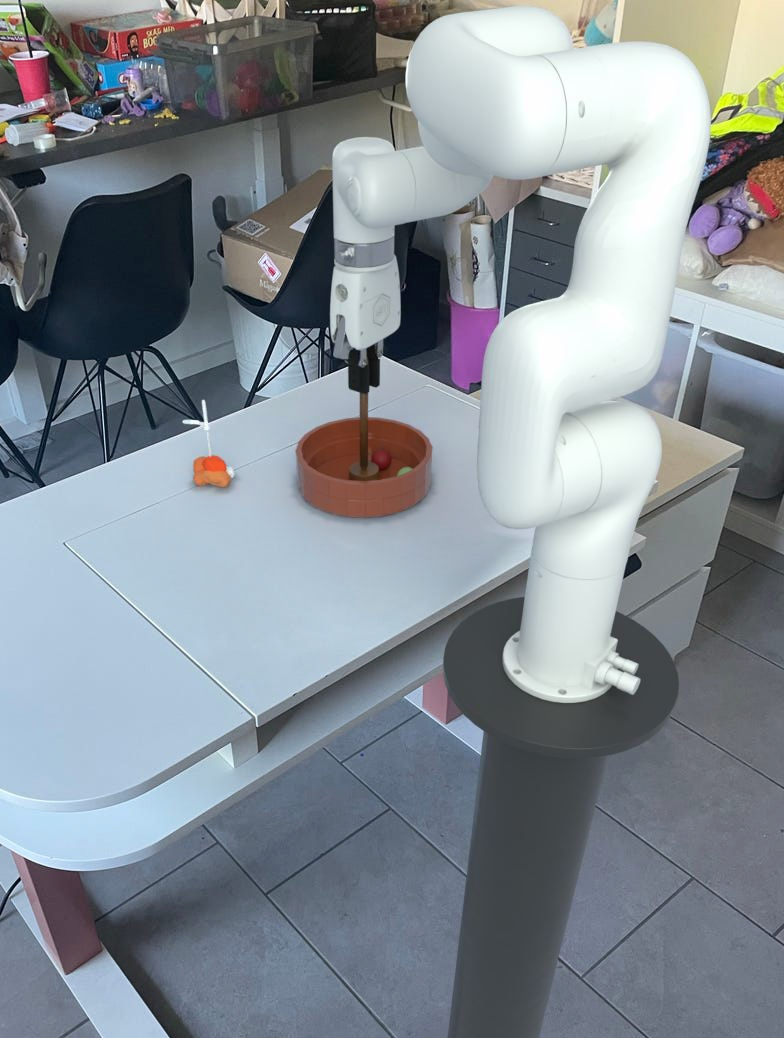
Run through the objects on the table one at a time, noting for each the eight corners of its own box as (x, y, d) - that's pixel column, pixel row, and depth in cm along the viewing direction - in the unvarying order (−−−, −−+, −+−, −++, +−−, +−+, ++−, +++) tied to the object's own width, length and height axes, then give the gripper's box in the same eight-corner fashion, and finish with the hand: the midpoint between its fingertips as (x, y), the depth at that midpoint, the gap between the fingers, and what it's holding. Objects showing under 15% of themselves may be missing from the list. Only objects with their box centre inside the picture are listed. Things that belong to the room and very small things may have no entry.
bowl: (455, 476, 140) (458, 440, 136) (379, 536, 129) (379, 498, 125) (350, 440, 150) (350, 405, 146) (270, 493, 139) (268, 456, 135)
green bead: (406, 487, 139) (423, 481, 137) (397, 492, 136) (414, 487, 135) (399, 468, 138) (416, 462, 136) (390, 473, 136) (407, 467, 134)
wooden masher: (384, 479, 139) (386, 354, 127) (367, 492, 137) (367, 365, 124) (360, 471, 141) (360, 346, 129) (343, 483, 139) (341, 357, 126)
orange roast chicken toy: (209, 460, 147) (201, 388, 139) (244, 484, 141) (237, 410, 133) (177, 473, 144) (166, 401, 136) (211, 498, 138) (202, 423, 130)
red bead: (385, 476, 140) (396, 463, 141) (382, 462, 138) (393, 449, 139) (369, 470, 142) (380, 457, 143) (366, 456, 139) (377, 443, 141)
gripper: (350, 274, 111) (351, 416, 123) (424, 238, 120) (418, 374, 132) (301, 262, 115) (307, 402, 127) (376, 228, 124) (375, 361, 136)
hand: (364, 387), depth 129 cm, fingers closed
